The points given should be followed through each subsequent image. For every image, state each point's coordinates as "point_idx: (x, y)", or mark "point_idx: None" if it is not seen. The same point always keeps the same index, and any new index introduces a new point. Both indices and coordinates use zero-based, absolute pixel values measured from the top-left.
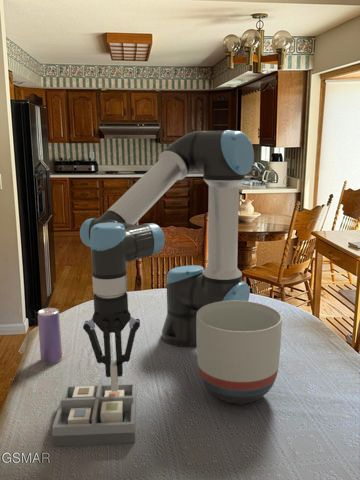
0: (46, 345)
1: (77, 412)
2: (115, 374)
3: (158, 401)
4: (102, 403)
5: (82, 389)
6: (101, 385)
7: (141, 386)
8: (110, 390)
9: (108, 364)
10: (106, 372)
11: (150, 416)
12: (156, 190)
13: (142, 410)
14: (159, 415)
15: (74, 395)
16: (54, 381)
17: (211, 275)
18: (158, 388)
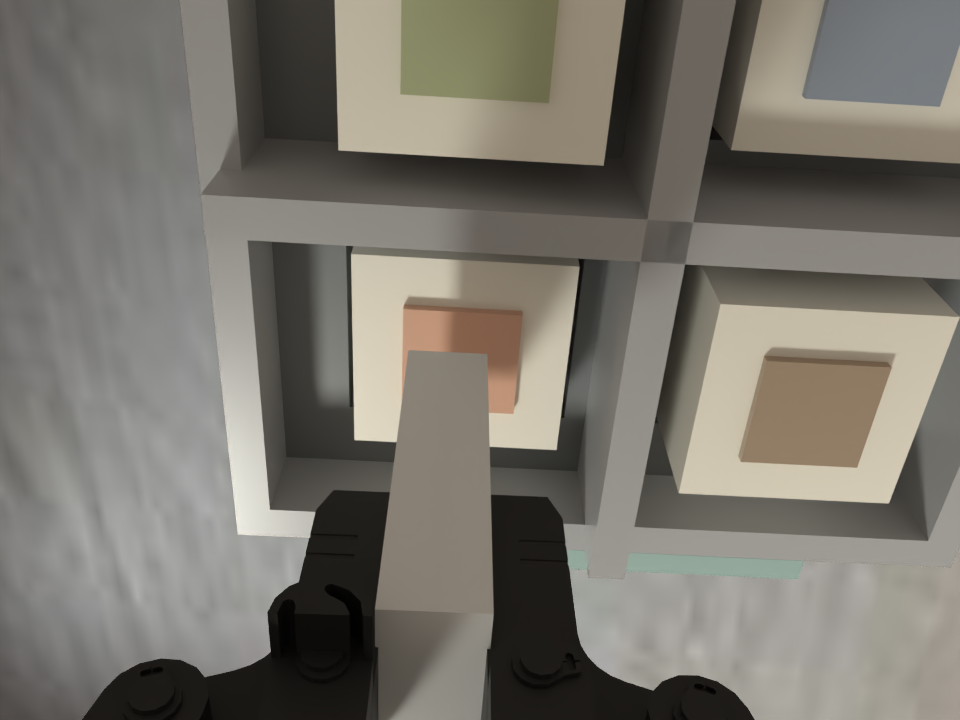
0: None
1: (920, 41)
2: (415, 497)
3: (73, 374)
4: (604, 124)
5: (823, 437)
6: (600, 493)
7: (251, 582)
8: (501, 445)
9: (523, 642)
10: (554, 548)
11: (112, 154)
12: None
13: (204, 260)
14: (24, 159)
15: (928, 344)
16: (930, 703)
17: None
18: (104, 544)
